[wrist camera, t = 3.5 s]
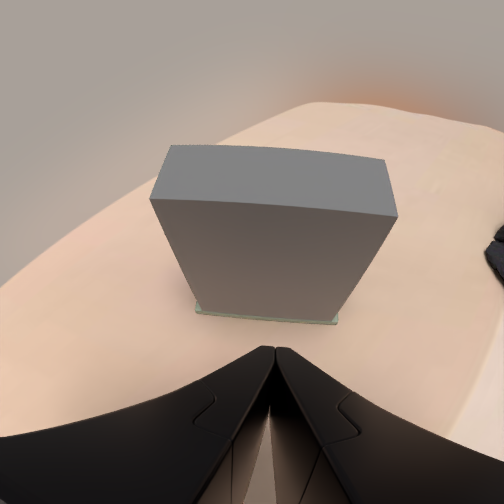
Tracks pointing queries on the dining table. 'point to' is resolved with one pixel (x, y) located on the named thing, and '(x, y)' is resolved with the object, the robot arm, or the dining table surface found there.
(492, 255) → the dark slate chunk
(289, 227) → the gray rectangular block
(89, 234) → the dining table surface
